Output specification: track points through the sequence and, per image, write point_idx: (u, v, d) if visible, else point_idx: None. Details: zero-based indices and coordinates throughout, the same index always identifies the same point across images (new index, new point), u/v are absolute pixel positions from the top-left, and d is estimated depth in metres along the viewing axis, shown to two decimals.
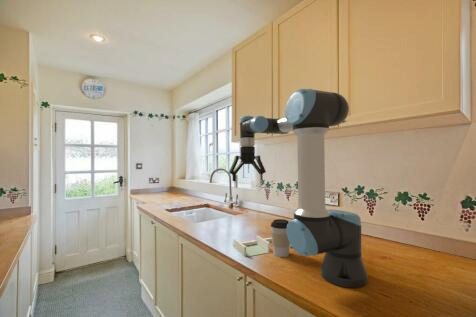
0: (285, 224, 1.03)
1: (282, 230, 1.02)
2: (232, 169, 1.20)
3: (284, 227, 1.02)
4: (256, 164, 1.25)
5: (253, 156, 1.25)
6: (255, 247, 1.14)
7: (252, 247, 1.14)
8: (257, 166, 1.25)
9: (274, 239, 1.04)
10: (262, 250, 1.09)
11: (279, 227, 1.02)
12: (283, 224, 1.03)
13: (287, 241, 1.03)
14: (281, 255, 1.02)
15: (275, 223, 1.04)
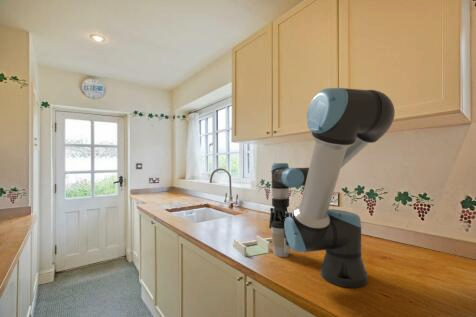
0: None
1: (282, 230, 1.02)
2: None
3: None
4: (283, 222, 1.02)
5: (282, 211, 1.03)
6: (255, 247, 1.14)
7: (252, 247, 1.14)
8: (283, 225, 1.02)
9: (274, 239, 1.04)
10: (262, 250, 1.09)
11: (279, 227, 1.02)
12: None
13: None
14: (281, 255, 1.02)
15: (275, 223, 1.04)
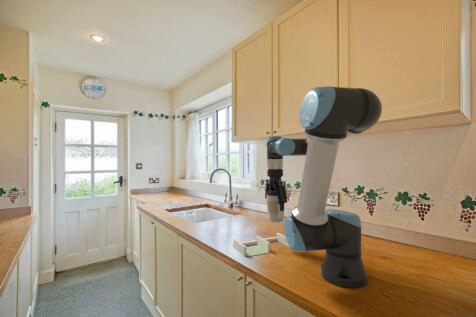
0: None
1: (276, 197, 1.10)
2: (265, 194, 1.21)
3: None
4: (277, 190, 1.11)
5: (276, 180, 1.11)
6: (255, 247, 1.14)
7: (252, 247, 1.14)
8: None
9: (269, 206, 1.12)
10: (262, 250, 1.09)
11: (273, 194, 1.10)
12: None
13: None
14: (275, 220, 1.11)
15: (270, 191, 1.12)
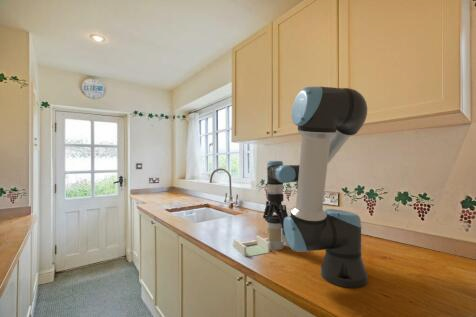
0: None
1: (277, 225, 1.10)
2: (264, 214, 1.22)
3: (279, 222, 1.10)
4: (278, 215, 1.10)
5: (276, 205, 1.11)
6: (255, 247, 1.14)
7: (252, 247, 1.14)
8: (279, 217, 1.09)
9: (269, 233, 1.12)
10: (262, 250, 1.09)
11: (274, 222, 1.10)
12: (278, 219, 1.11)
13: None
14: (276, 248, 1.11)
15: (270, 218, 1.12)
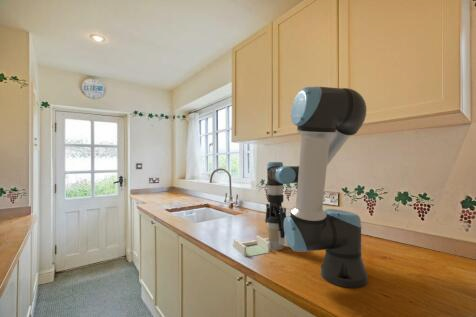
0: None
1: (277, 225, 1.10)
2: None
3: None
4: (277, 217, 1.11)
5: (277, 206, 1.11)
6: (255, 247, 1.14)
7: (252, 247, 1.14)
8: (278, 219, 1.10)
9: (269, 233, 1.12)
10: (262, 250, 1.09)
11: (274, 222, 1.10)
12: None
13: None
14: (276, 248, 1.11)
15: (270, 218, 1.12)
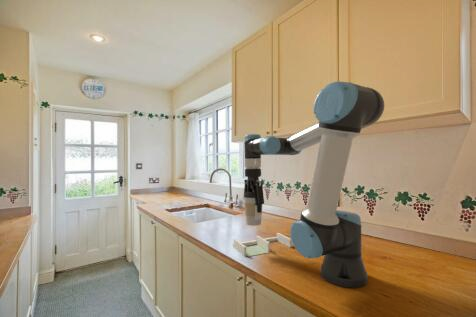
0: None
1: (253, 199, 1.06)
2: None
3: None
4: (254, 191, 1.06)
5: (253, 180, 1.07)
6: (255, 247, 1.14)
7: (252, 247, 1.14)
8: (254, 194, 1.06)
9: (246, 208, 1.07)
10: (262, 250, 1.09)
11: (250, 196, 1.06)
12: None
13: None
14: (252, 224, 1.06)
15: (247, 193, 1.08)
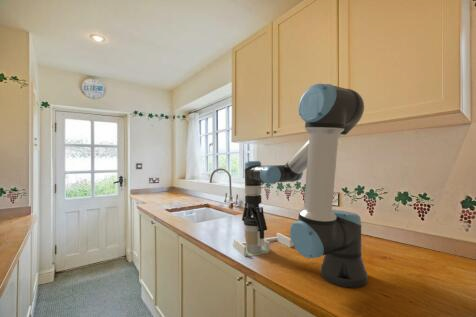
0: None
1: (254, 228, 1.05)
2: None
3: (256, 225, 1.05)
4: (255, 217, 1.05)
5: (254, 207, 1.07)
6: None
7: None
8: (256, 220, 1.04)
9: (246, 236, 1.07)
10: (262, 250, 1.09)
11: (251, 225, 1.05)
12: (255, 222, 1.06)
13: None
14: (253, 252, 1.06)
15: (247, 221, 1.07)
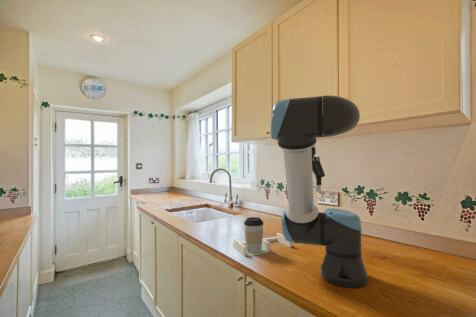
0: (257, 222, 1.06)
1: (254, 228, 1.05)
2: None
3: (256, 225, 1.05)
4: (312, 166, 1.12)
5: None
6: None
7: None
8: (313, 169, 1.11)
9: (246, 236, 1.07)
10: (262, 250, 1.09)
11: (251, 225, 1.05)
12: (255, 222, 1.06)
13: (259, 238, 1.06)
14: (253, 252, 1.06)
15: (247, 221, 1.07)
